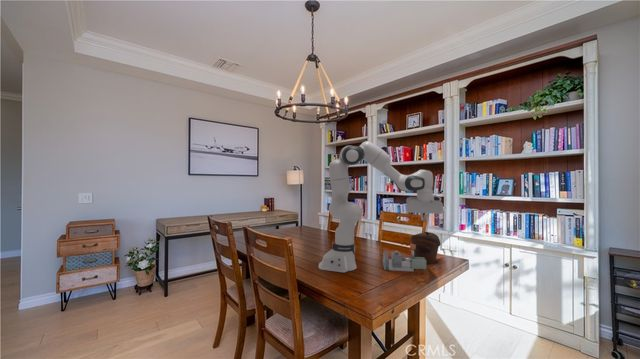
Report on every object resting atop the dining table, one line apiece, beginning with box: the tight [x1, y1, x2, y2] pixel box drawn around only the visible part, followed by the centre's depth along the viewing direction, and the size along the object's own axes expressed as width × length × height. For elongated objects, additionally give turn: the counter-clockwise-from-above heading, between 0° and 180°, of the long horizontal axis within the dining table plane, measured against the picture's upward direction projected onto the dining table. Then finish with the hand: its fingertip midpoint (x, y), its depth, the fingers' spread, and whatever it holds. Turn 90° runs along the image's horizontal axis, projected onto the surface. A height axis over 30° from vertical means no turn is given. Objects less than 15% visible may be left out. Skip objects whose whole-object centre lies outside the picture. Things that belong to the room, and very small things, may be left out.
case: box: [409, 231, 442, 264], centre depth 173 cm, size 18×20×18 cm
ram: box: [402, 243, 416, 261], centre depth 160 cm, size 8×3×10 cm, turn 81°
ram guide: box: [409, 256, 427, 270], centre depth 159 cm, size 8×6×5 cm
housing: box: [391, 250, 403, 266], centre depth 161 cm, size 5×8×8 cm, turn 171°
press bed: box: [382, 251, 415, 272], centre depth 161 cm, size 16×16×6 cm
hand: (424, 220), depth 158 cm, fingers closed
